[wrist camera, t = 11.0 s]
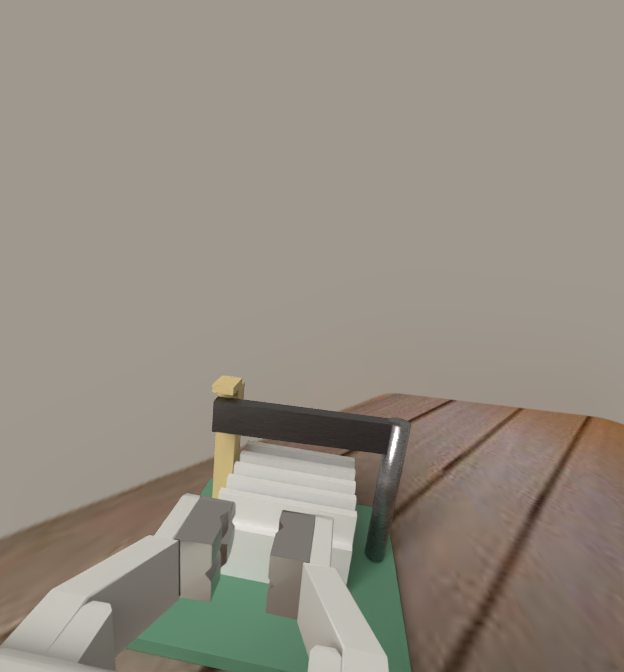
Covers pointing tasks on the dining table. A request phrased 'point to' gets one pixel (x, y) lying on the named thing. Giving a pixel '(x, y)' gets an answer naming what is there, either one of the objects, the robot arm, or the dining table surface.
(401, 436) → the retention bar
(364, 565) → the board
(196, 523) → the robot arm
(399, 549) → the dining table surface
